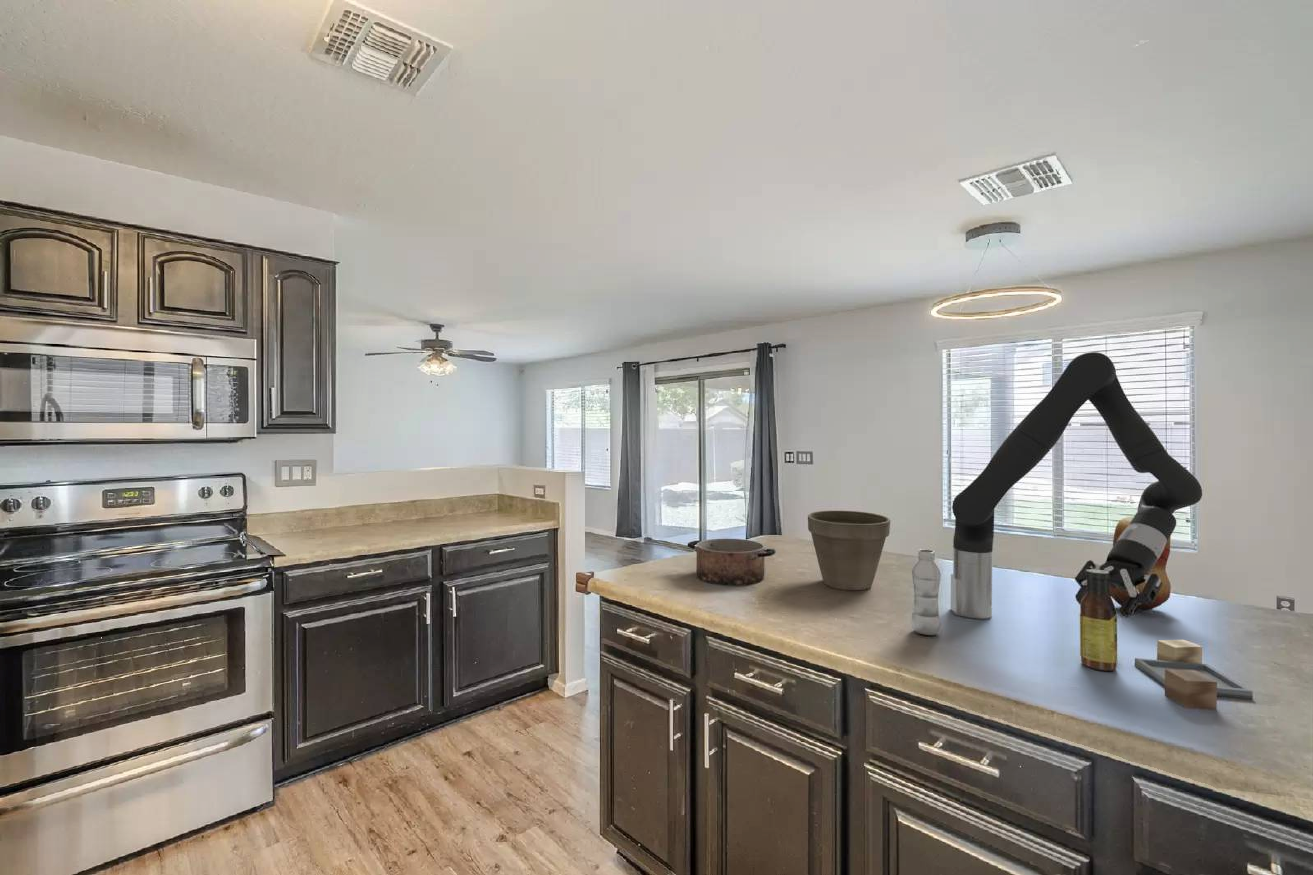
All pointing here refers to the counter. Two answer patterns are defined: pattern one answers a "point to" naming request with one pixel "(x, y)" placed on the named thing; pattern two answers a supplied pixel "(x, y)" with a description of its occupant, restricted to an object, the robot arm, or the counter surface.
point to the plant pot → (848, 546)
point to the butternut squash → (1157, 569)
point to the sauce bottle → (1098, 623)
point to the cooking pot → (730, 561)
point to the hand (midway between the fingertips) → (1100, 608)
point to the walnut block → (1191, 689)
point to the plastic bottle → (926, 594)
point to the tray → (1224, 683)
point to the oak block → (1179, 651)
